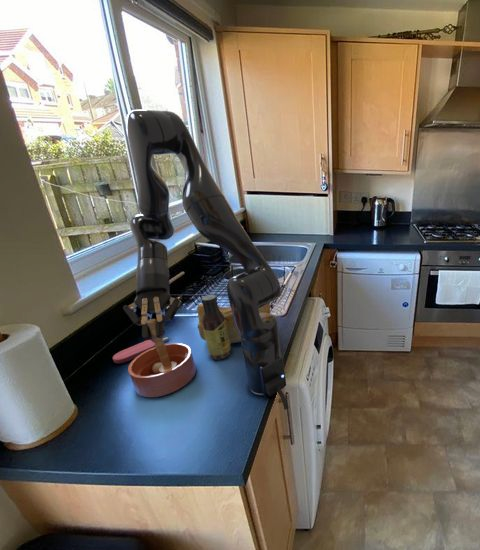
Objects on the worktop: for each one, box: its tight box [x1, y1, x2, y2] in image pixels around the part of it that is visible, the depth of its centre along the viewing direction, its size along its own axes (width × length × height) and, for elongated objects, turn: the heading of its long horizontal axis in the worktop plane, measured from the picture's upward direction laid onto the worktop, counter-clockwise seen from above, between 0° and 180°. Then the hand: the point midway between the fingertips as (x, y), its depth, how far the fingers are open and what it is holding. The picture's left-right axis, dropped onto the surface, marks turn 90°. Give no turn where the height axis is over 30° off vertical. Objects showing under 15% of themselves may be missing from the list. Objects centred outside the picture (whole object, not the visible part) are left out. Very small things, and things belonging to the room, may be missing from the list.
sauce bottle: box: [200, 294, 232, 361], centre depth 91 cm, size 7×6×20 cm
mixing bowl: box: [127, 342, 197, 398], centre depth 83 cm, size 14×14×7 cm
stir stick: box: [147, 318, 178, 373], centre depth 82 cm, size 4×4×16 cm
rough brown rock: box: [196, 302, 271, 344], centre depth 103 cm, size 23×17×15 cm
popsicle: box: [112, 336, 169, 364], centre depth 96 cm, size 5×2×15 cm
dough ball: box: [152, 362, 162, 373], centre depth 86 cm, size 3×3×3 cm
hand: (153, 338), depth 79 cm, fingers closed on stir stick, 2 cm apart
